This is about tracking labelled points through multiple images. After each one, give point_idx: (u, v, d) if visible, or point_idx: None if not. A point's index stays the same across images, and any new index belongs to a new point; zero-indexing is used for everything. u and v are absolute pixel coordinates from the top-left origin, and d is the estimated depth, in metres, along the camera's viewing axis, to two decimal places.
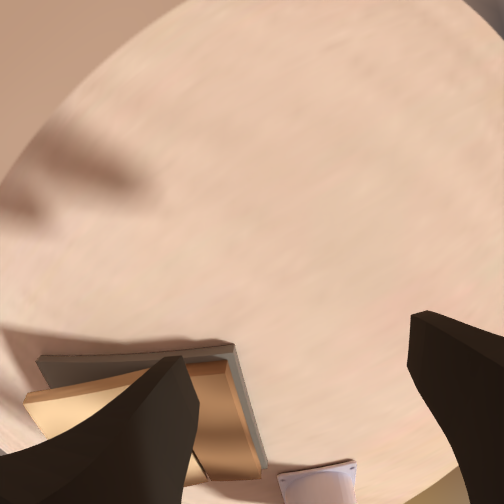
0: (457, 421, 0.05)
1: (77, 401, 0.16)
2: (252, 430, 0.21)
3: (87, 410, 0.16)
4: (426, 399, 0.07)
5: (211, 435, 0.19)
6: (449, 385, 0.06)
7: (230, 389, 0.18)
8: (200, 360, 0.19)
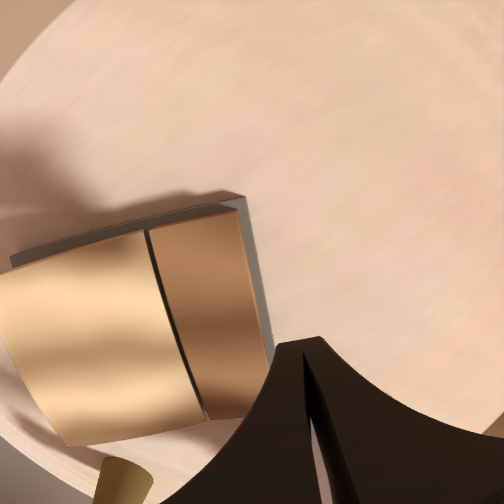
0: (327, 463, 0.06)
1: (43, 270, 0.13)
2: (266, 331, 0.18)
3: (53, 286, 0.13)
4: (315, 430, 0.07)
5: (212, 329, 0.16)
6: (319, 423, 0.06)
7: (240, 241, 0.15)
8: (203, 212, 0.16)
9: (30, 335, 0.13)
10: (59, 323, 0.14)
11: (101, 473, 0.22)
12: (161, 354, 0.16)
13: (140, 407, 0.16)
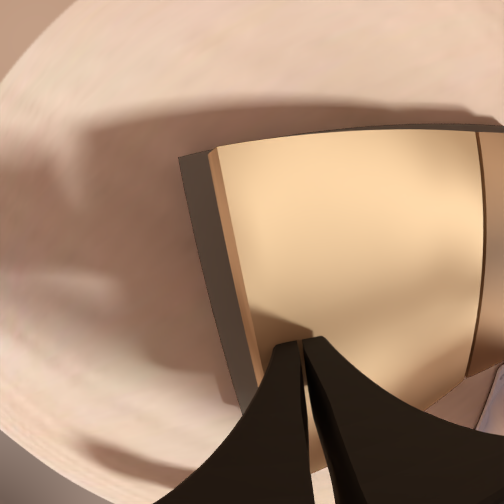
0: (330, 462, 0.06)
1: (381, 145, 0.08)
2: None
3: (393, 175, 0.08)
4: (317, 429, 0.07)
5: None
6: (322, 423, 0.06)
7: None
8: (494, 132, 0.11)
9: (329, 273, 0.08)
10: (388, 244, 0.09)
11: None
12: (469, 290, 0.11)
13: (427, 376, 0.11)
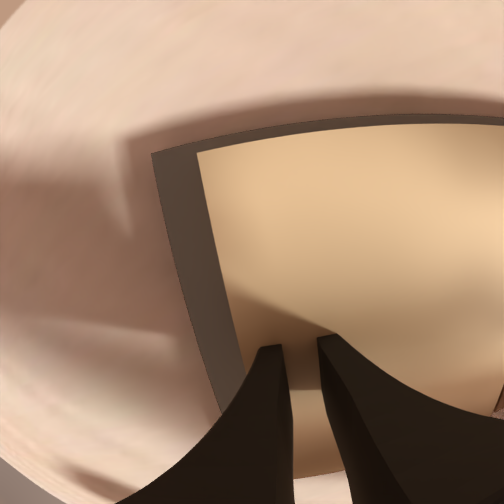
0: (347, 458, 0.05)
1: (392, 143, 0.07)
2: None
3: (407, 178, 0.07)
4: (331, 427, 0.07)
5: None
6: (339, 419, 0.06)
7: None
8: None
9: (319, 283, 0.08)
10: (397, 258, 0.08)
11: None
12: None
13: None
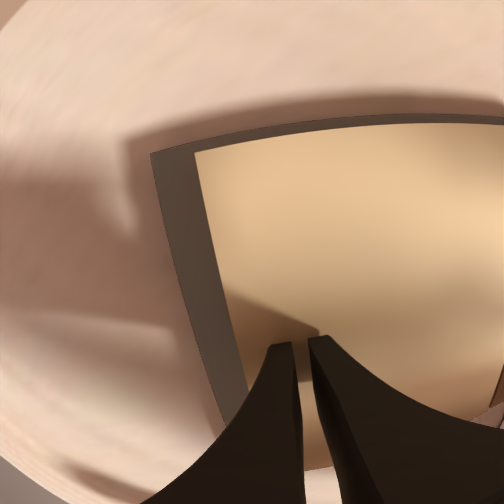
0: (337, 461, 0.06)
1: (383, 142, 0.07)
2: None
3: (397, 176, 0.07)
4: (323, 428, 0.07)
5: None
6: (329, 421, 0.06)
7: None
8: None
9: (312, 278, 0.08)
10: (388, 254, 0.08)
11: None
12: (501, 314, 0.08)
13: (437, 401, 0.09)
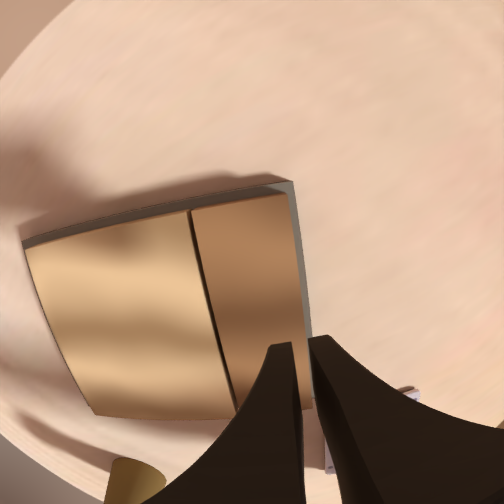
0: (337, 461, 0.06)
1: (83, 244, 0.14)
2: (306, 321, 0.17)
3: (91, 260, 0.15)
4: (323, 428, 0.07)
5: (255, 319, 0.15)
6: (329, 421, 0.06)
7: (291, 225, 0.14)
8: (248, 195, 0.15)
9: (68, 304, 0.15)
10: (95, 297, 0.15)
11: (112, 474, 0.21)
12: (195, 344, 0.16)
13: (169, 392, 0.17)
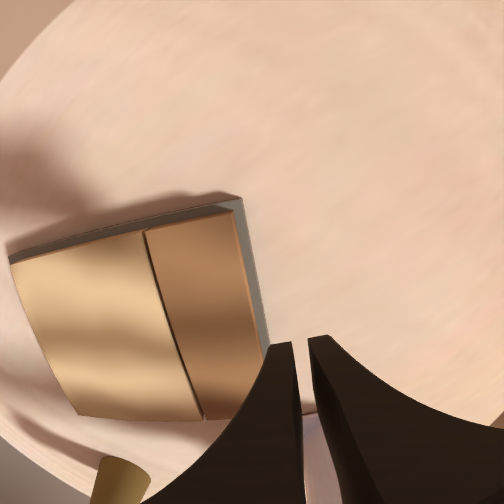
0: (337, 461, 0.06)
1: (57, 261, 0.15)
2: (262, 332, 0.18)
3: (65, 275, 0.15)
4: (322, 428, 0.07)
5: (208, 330, 0.16)
6: (329, 421, 0.06)
7: (236, 243, 0.15)
8: (200, 214, 0.16)
9: (48, 314, 0.16)
10: (70, 308, 0.16)
11: (99, 472, 0.22)
12: (158, 351, 0.16)
13: (139, 395, 0.18)
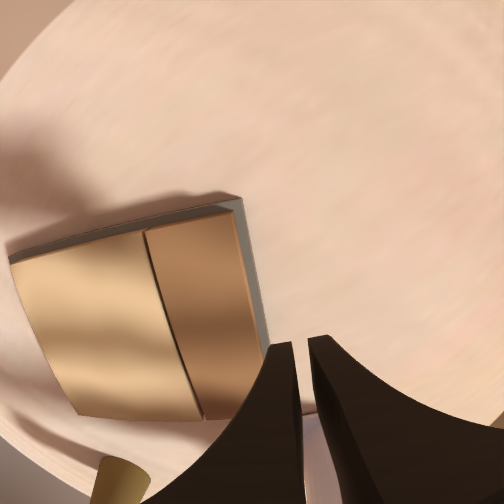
0: (337, 461, 0.06)
1: (57, 261, 0.15)
2: (262, 332, 0.18)
3: (65, 275, 0.15)
4: (322, 428, 0.07)
5: (208, 330, 0.16)
6: (329, 421, 0.06)
7: (236, 243, 0.15)
8: (200, 214, 0.16)
9: (48, 314, 0.16)
10: (70, 308, 0.16)
11: (99, 472, 0.22)
12: (158, 351, 0.16)
13: (139, 395, 0.18)
